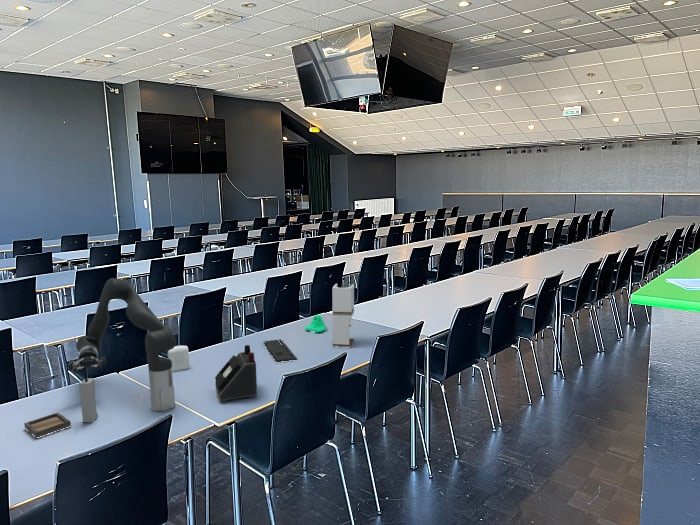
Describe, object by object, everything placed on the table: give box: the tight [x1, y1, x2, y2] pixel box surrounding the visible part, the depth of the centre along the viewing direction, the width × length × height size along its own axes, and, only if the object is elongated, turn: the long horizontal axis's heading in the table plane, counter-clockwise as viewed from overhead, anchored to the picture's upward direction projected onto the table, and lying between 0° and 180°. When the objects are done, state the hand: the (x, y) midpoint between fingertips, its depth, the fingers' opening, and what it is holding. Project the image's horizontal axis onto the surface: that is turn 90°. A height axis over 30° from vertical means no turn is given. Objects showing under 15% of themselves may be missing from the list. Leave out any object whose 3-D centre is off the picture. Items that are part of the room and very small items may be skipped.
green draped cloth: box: [304, 314, 328, 333], centre depth 319 cm, size 12×8×10 cm, turn 59°
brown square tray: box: [24, 412, 72, 439], centre depth 194 cm, size 12×12×2 cm
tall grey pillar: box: [331, 283, 355, 348], centre depth 291 cm, size 11×11×35 cm
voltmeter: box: [214, 344, 258, 403], centre depth 225 cm, size 16×16×20 cm
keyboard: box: [262, 338, 298, 363], centre depth 282 cm, size 35×11×2 cm, turn 21°
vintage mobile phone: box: [79, 361, 99, 423], centre depth 199 cm, size 4×5×25 cm
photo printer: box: [167, 345, 190, 373], centre depth 254 cm, size 10×4×12 cm, turn 124°
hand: (87, 368), depth 208 cm, fingers open, 8 cm apart
